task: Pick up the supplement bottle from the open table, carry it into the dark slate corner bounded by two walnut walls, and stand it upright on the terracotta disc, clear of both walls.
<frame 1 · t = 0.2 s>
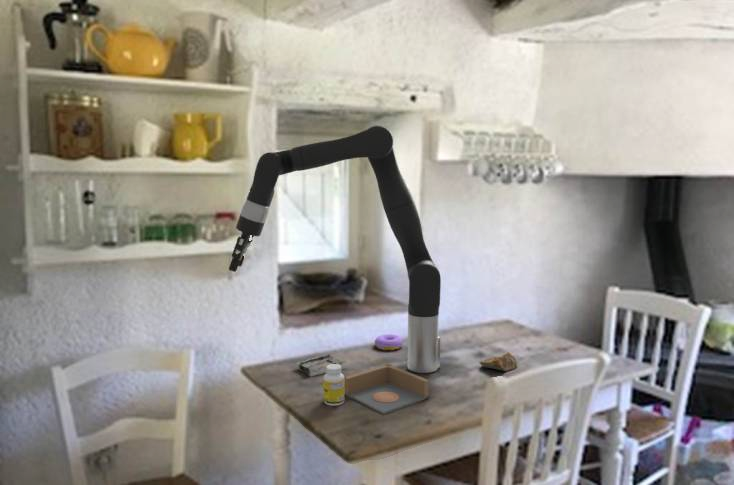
hand: (235, 268, 173), 31 cm above the table, tool tilted 20°, fingers open, 8 cm apart
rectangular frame: (320, 370, 177), on the table
donut: (388, 348, 198), on the table
decorative stone: (498, 368, 179), on the table
supplement bottle: (334, 402, 152), on the table
corner arena: (386, 396, 156), on the table
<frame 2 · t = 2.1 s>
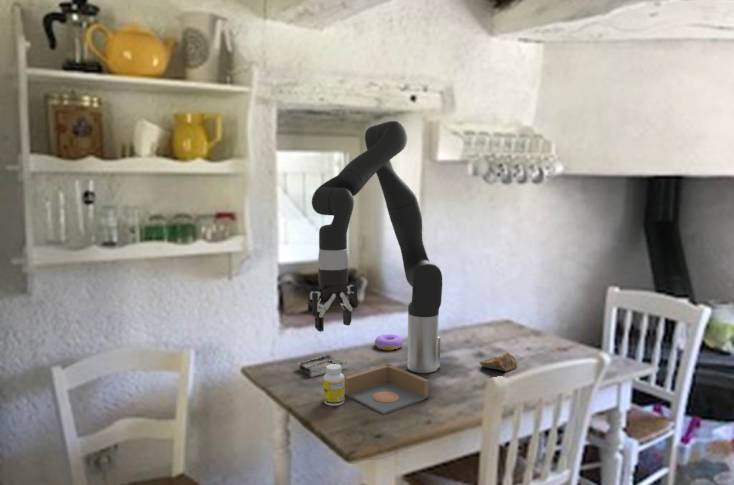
hand: (333, 327, 150), 20 cm above the table, tool pointing down, fingers open, 8 cm apart
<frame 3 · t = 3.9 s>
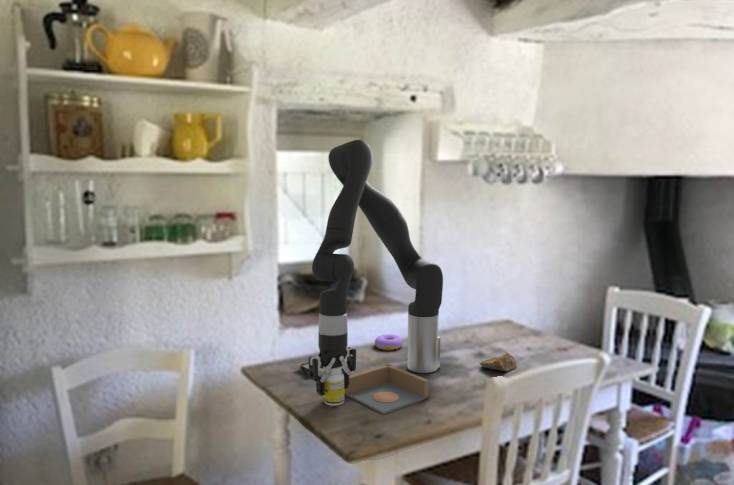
hand: (332, 391, 152), 3 cm above the table, tool pointing down, fingers open, 7 cm apart
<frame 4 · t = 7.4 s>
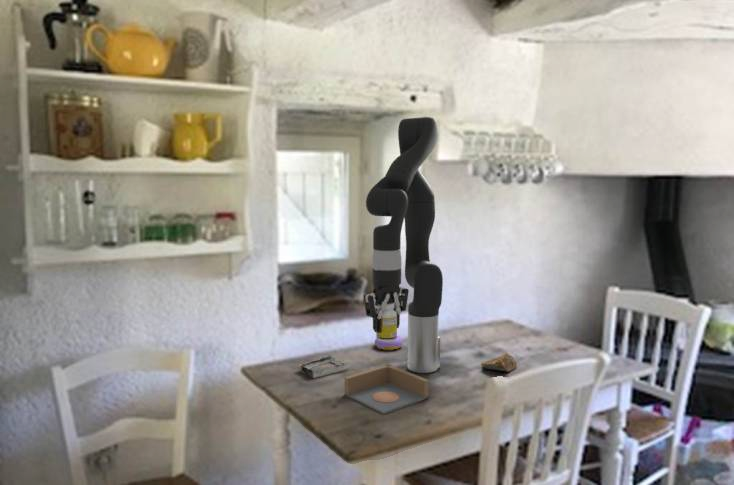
hand: (386, 329, 151), 19 cm above the table, tool pointing down, fingers closed on supplement bottle, 5 cm apart
supplement bottle: (386, 339, 152), point 16 cm above the table, touching gripper
when the fingers open (5 cm above the table, at t = 10.5 s): supplement bottle drops 1 cm, resting on corner arena.
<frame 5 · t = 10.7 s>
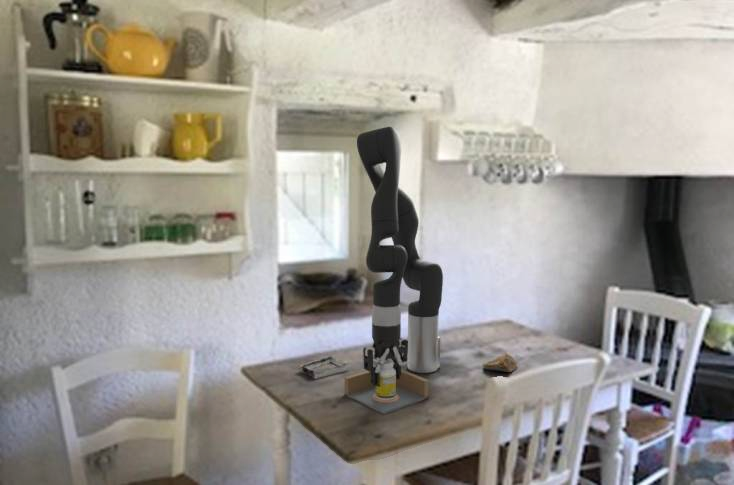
hand: (385, 381, 153), 5 cm above the table, tool pointing down, fingers open, 7 cm apart
supplement bottle: (385, 397, 154), point 1 cm above the table, touching corner arena
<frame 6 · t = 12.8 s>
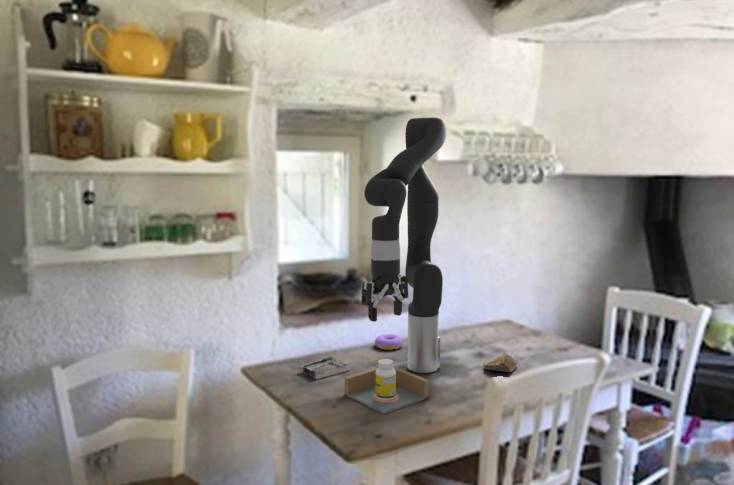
hand: (385, 317, 151), 22 cm above the table, tool pointing down, fingers open, 8 cm apart
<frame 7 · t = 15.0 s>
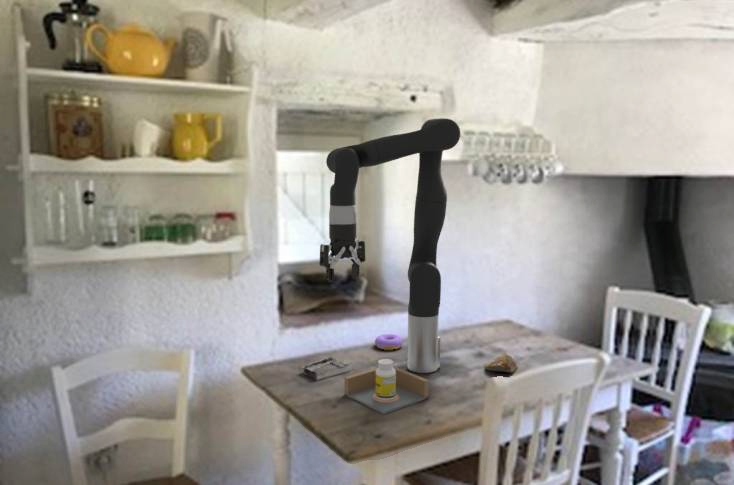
hand: (343, 279, 161), 30 cm above the table, tool pointing down, fingers open, 8 cm apart
at the end: supplement bottle 0.0 cm from the target spot on the corner arena, point 0.6 cm above the corner arena's base; supplement bottle tilted 0°; the gripper is holding nothing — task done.
